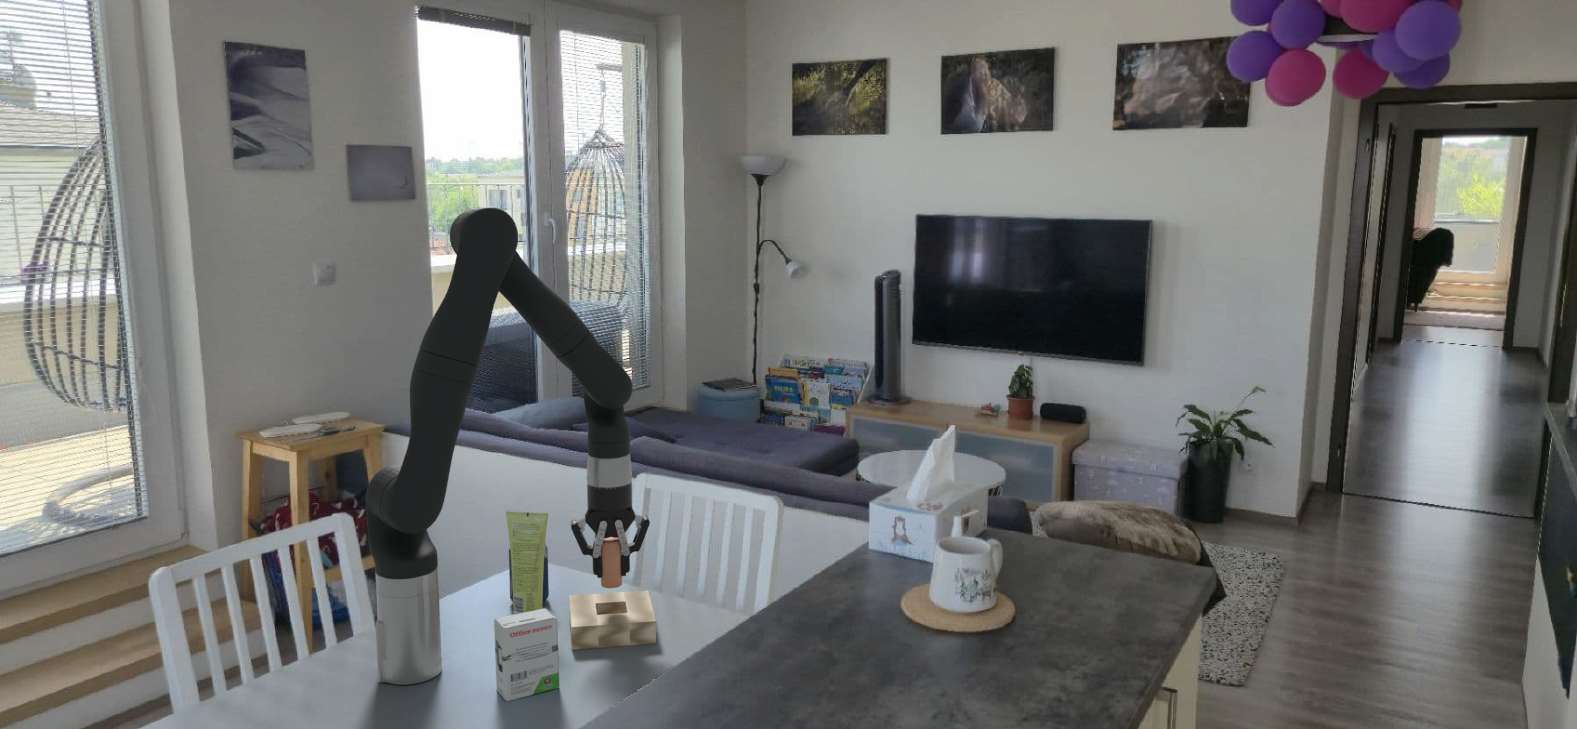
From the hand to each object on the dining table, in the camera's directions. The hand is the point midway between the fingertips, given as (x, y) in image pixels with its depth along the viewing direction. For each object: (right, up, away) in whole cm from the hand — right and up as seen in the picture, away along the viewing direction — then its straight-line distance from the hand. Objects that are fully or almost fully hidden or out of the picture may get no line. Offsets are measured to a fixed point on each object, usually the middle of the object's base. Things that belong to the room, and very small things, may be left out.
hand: (611, 575), depth 192 cm
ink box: (-10, -14, -21) cm, 27 cm away
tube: (-16, -9, +6) cm, 19 cm away
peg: (0, -2, 0) cm, 2 cm away
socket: (0, -10, +1) cm, 10 cm away
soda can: (-17, -8, +13) cm, 23 cm away
